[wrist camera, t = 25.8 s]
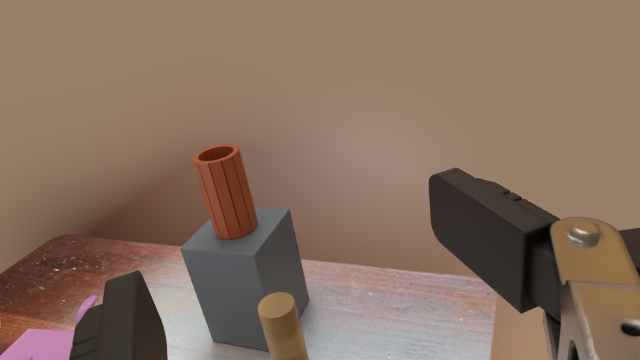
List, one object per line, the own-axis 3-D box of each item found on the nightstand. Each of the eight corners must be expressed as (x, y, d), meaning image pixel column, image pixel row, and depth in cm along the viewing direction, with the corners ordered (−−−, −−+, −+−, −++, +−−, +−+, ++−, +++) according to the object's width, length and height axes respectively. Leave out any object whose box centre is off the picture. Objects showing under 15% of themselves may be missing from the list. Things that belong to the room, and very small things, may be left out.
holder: (309, 299, 51) (273, 135, 42) (280, 353, 45) (231, 173, 36) (248, 291, 54) (203, 136, 45) (212, 341, 48) (152, 172, 39)
